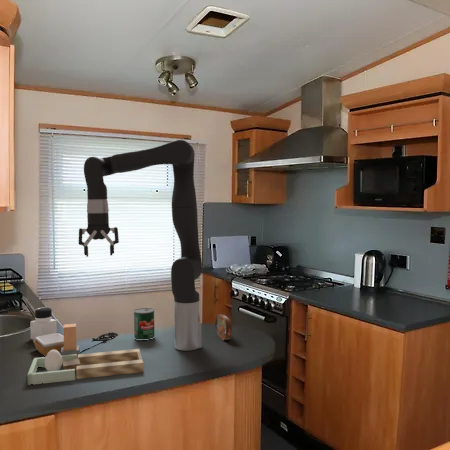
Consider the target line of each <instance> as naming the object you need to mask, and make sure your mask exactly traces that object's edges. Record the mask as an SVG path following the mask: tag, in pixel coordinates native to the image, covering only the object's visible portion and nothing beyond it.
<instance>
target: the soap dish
mask: <svg viewBox="0 0 450 450" xmlns="http://www.w3.org/2000/svg"><path fill="white" fill-rule="evenodd" d="M32 342H33V344H34V346H35V348H36V351H37V350H38V353H40V354H41V355H42V354H43V355H44V356H45V357H46V356H47V354H48V352H49V351H51V350H57V351H58V352H59V353H61V348H62V346H64V334H61V333H59V332H57V333H56V334H50V335H44V336H39V337H36V340H32ZM43 355H42V356H43ZM44 356H43V357H44Z"/></svg>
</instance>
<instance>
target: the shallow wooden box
mask: <svg viewBox="0 0 450 450" xmlns="http://www.w3.org/2000/svg"><path fill="white" fill-rule="evenodd" d="M78 359H79V361H80V366H77V369H76V372H77V373H76V380H80V379H81V380H83V379H89V378H90V379H91V378H100V377H108V376H118V375H129V374H136V373H144V361H143V357H142V354H141V350H140V348H134V349H132V348H131V349H123V350H112V351H103V352H102V351H101V352H91V353H89V352H88V353H80V354H78Z"/></svg>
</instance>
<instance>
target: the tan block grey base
mask: <svg viewBox="0 0 450 450" xmlns="http://www.w3.org/2000/svg"><path fill="white" fill-rule="evenodd" d="M62 327H63V336H64V346H62V348H61V355H72V354H77V358H78V354H81V353H80V346H81V345H80V344H78V343H77V342H78V341H77V323H68V324H67V323H65V324H63V326H62Z"/></svg>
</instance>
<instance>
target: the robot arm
mask: <svg viewBox="0 0 450 450" xmlns="http://www.w3.org/2000/svg"><path fill="white" fill-rule="evenodd" d="M195 155H196V154H195V150H194V148H193V146H192V145H191V144H190V143H189V142H188V141H186V140H184V139H176V140H174V141H170V142H166V143H164V144H162V145H158V146H154V147H152V148H151V147H150V148H147V149H146V148H145V149H140V150H134V151H133V150H131V151H126V152H120V153H119V152H118V153H116V154H115V153H114V154H112V155H111V156H105V157H104V156H103V157H97V156H89V157H88V158H86V159H85V160H84V161H85V162H84V163H83V175H84V179H85V183H86V188H87V192H86V193H87V194H86V195H87V203H86V212H87V213H86V214H87V215H86V217H87V228H82V227H80V228H79V229H78V245H79V246H82V247H83V254H84V256H86V257H87V258H88V257H89V246H88V245H89V243H90V242H91V241H92V240H94V241H95V240H104V239H105V240H106V241H107V242H108V243H109V256H113V254H114V253H115V245H116V244H118V243H120V240H119V229H118V227H117V226H114V227H110V223H109V222H110V220H109V219H110V217H109V211H110V209H109V202H108V188H107V185H106V184H105V182H104V177H108V176H111V175H115V174H122V173H128V172H129V173H130V172H134V171H135V172H136V171H138V170H142V169H146V168H148V167H152V166H159V165H171V166H172V171H173V188H172V189H173V190H172V193H171V194H172V196H171V218H172V223H173V224H172V225H173V227H174V229H175V232H176V234H177V236H178V239H179V242H180V257H179V258H176V259H175V260H174V261H173V263H172V265H171V270H170V278H171V279H170V280H171V281H170V282H171V283H170V284H171V292H172V295H173V301H174V302H173V303H174V305H173V308H174V311H173V313H174V348H175V349H176V350H178V351H189V352H190V351H195V350H198V349H202V321H201V320H200V316H201V315H200V314H201V313H200V309H201V308H200V305H201V304H200V300H201V299H200V297H201V296H200V292H199V291H197V290H196V284H195V283H196V282H195V281H196V280H197V279H199V278H200V276H201V275H202V272H203V263H202V255H201V249H200V243H199V240H200V239H199V224H198V222H199V221H198V220H199V219H198V216H199V215H198V203H197V194H196V187H195V180H194V179H195V178H194V174H195V173H194V172H195V171H194V169H195ZM110 232H112V234H114V240H112V239H111V237H110V236H109V234H110ZM85 233H87V234H88V235H89V236H88V237H87V239H86V240H85V241H83V235H85Z"/></svg>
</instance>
